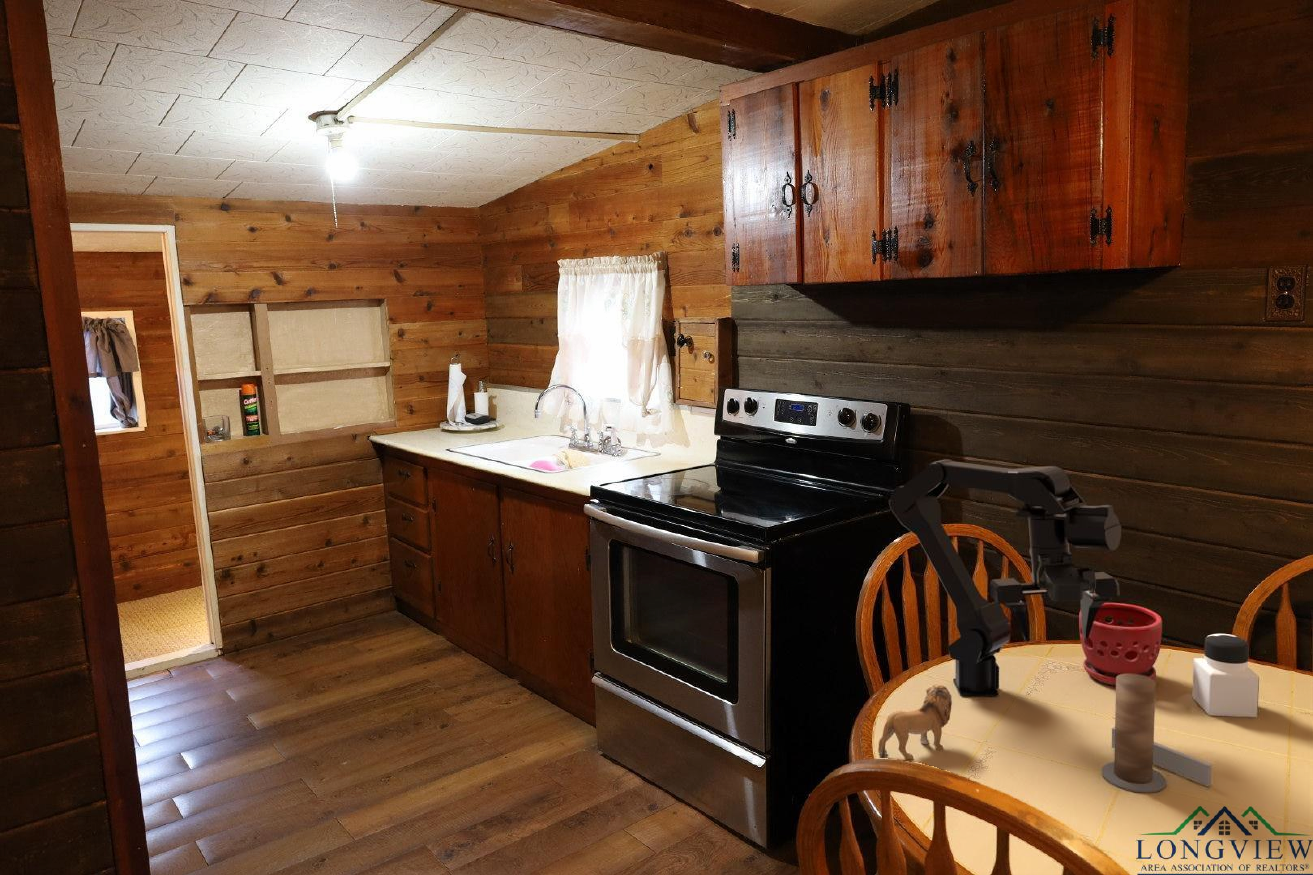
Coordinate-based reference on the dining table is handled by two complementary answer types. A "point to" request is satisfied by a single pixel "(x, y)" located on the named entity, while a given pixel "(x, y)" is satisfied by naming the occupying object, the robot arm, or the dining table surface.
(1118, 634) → the plant pot
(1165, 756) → the low wall
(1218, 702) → the medicine bottle
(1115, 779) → the resting pad
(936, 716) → the lion figurine
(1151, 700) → the pepper mill
